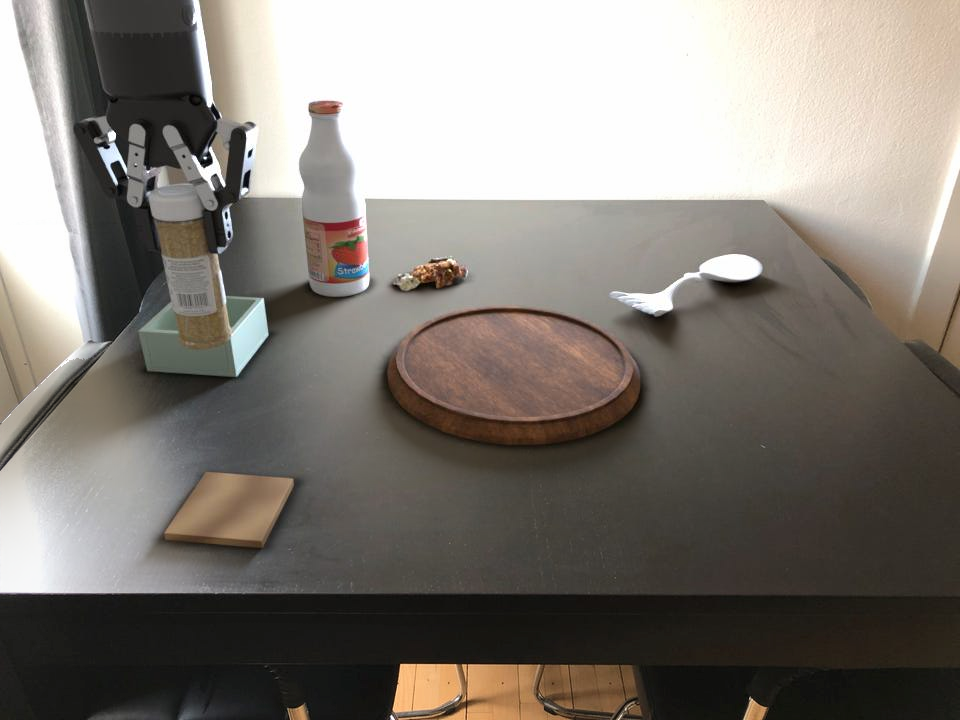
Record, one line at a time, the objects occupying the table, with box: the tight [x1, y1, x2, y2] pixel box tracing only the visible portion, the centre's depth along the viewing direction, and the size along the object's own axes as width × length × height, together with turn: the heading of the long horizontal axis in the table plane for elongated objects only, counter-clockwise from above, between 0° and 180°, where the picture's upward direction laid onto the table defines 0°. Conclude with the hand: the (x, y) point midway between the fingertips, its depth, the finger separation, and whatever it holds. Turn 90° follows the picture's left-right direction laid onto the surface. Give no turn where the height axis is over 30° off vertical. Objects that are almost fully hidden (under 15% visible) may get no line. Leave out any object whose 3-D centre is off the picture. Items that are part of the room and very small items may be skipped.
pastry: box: [393, 255, 469, 292], centre depth 119 cm, size 7×12×4 cm, turn 128°
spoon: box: [609, 254, 764, 318], centre depth 117 cm, size 9×32×4 cm, turn 131°
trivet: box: [163, 471, 295, 549], centre depth 70 cm, size 9×9×1 cm
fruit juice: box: [298, 100, 370, 298], centre depth 111 cm, size 9×9×28 cm
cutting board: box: [386, 305, 642, 446], centre depth 94 cm, size 32×32×3 cm
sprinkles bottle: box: [149, 183, 232, 350], centre depth 62 cm, size 5×5×13 cm
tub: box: [137, 295, 269, 378], centre depth 96 cm, size 12×12×6 cm
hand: (188, 248), depth 61 cm, fingers closed on sprinkles bottle, 4 cm apart
